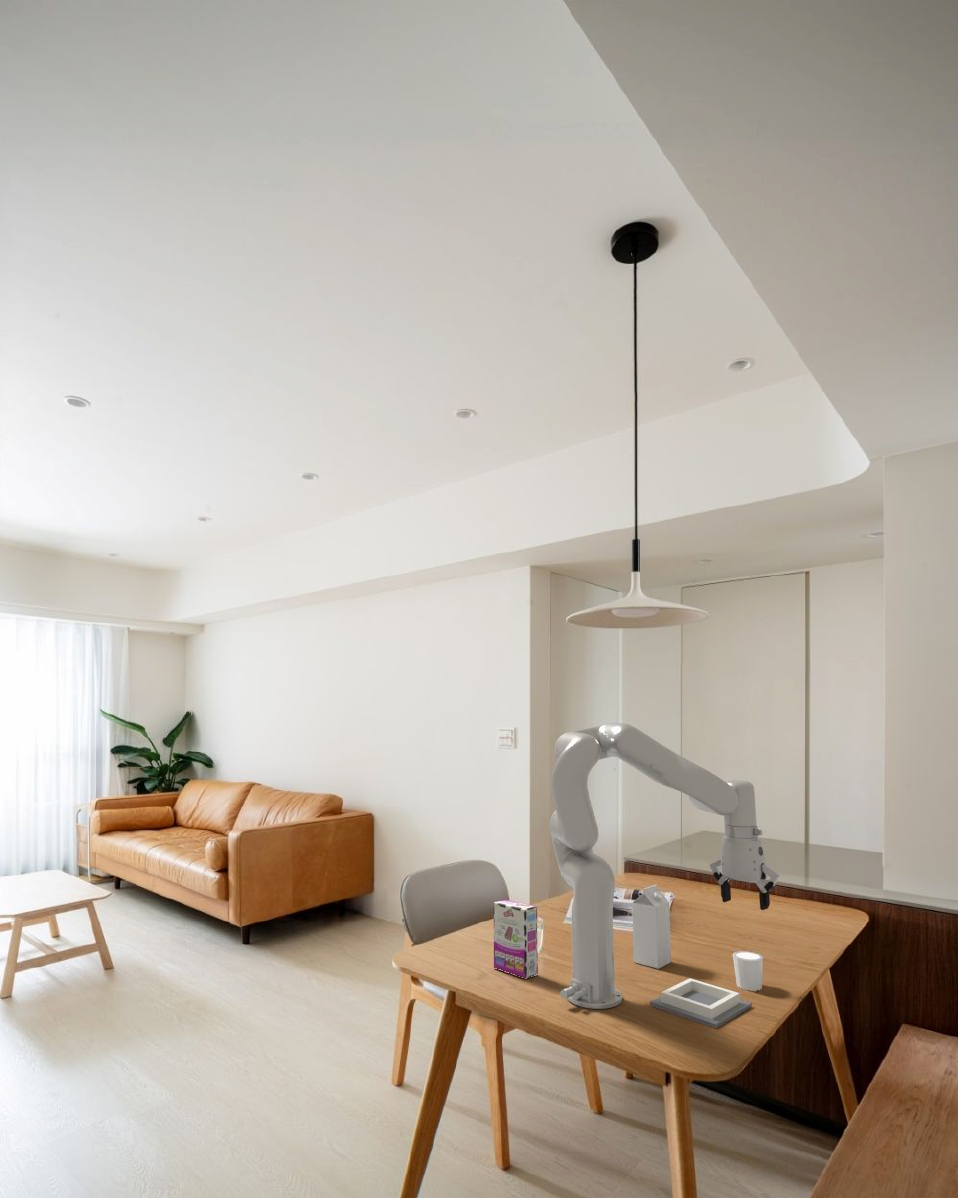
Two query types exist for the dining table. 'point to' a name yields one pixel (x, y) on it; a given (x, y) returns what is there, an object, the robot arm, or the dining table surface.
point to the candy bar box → (515, 938)
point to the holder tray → (701, 1002)
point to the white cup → (748, 970)
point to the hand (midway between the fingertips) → (745, 905)
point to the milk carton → (651, 928)
